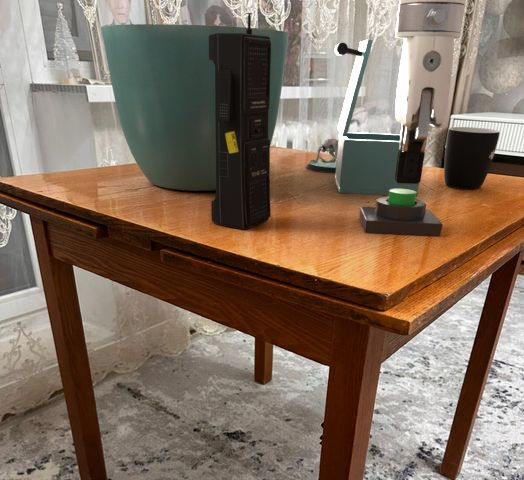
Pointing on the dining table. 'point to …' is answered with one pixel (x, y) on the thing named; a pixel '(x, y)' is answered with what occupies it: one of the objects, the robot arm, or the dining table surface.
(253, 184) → the portable radio
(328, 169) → the figurine
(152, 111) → the flower pot
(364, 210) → the block
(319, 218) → the dining table surface
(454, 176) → the mug
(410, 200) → the button
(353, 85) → the box lid
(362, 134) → the teal open box
